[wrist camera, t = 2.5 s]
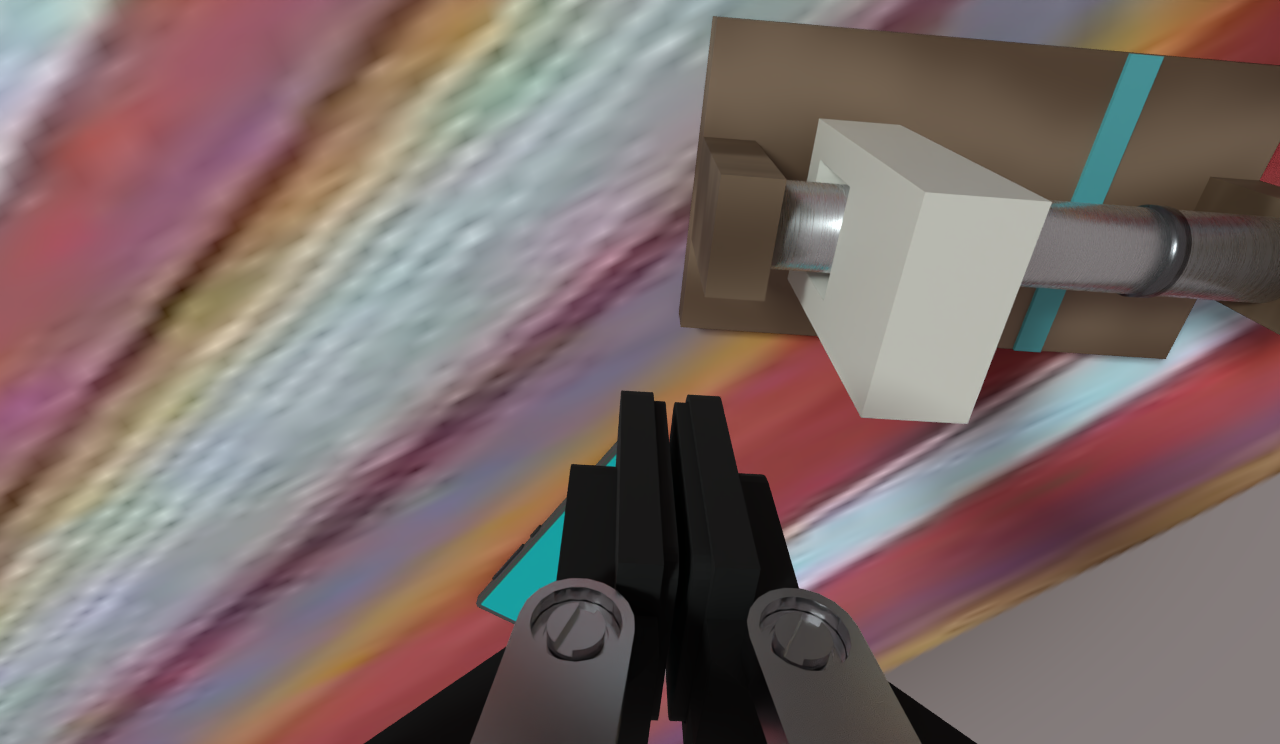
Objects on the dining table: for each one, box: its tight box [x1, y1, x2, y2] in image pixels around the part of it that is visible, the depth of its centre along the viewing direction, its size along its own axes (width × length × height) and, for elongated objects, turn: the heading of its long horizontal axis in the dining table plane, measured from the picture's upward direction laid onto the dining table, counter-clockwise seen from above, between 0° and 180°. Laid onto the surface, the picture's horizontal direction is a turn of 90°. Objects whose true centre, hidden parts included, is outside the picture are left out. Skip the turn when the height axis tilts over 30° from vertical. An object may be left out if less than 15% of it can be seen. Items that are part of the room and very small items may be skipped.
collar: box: [788, 118, 1052, 424], centre depth 21 cm, size 6×3×10 cm, turn 176°
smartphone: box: [476, 442, 617, 624], centre depth 38 cm, size 7×1×15 cm
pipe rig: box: [679, 16, 1280, 359], centre depth 25 cm, size 12×22×8 cm, turn 86°
